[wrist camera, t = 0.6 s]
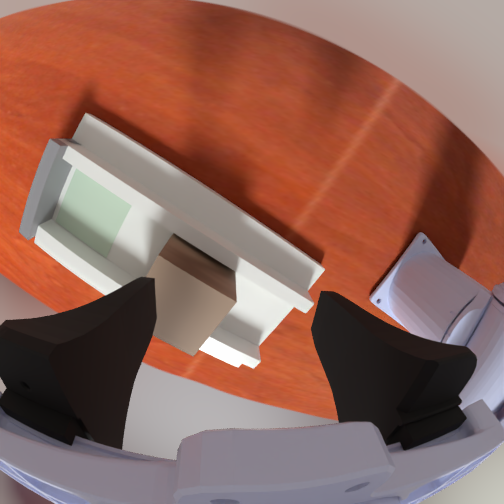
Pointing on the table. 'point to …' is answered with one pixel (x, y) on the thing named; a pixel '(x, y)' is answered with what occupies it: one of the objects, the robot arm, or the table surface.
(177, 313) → the block
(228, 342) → the chute
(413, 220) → the table surface
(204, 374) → the table surface
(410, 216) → the table surface
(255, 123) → the table surface
